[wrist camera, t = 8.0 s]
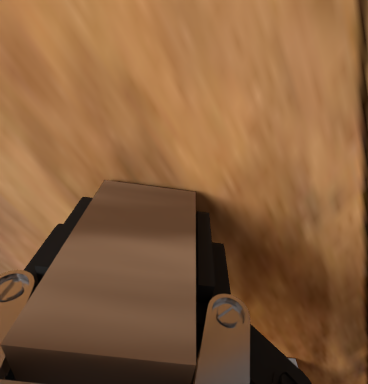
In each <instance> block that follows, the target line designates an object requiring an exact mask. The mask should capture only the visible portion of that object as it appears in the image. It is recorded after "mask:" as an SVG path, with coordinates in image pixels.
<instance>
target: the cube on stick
mask: <svg viewBox="0 0 368 384" xmlns="http://www.w3.org/2000/svg"><path fill="white" fill-rule="evenodd" d="M0 345H1V347H2V350H3V352H4V354H5V356H6V359H7V361H8V363H9V365H10V368H11V370H12V372H13V374H14V377H15V379H16V381H21V382H32V383H42V384H191V381H192V377H193V374H194V371H195V368H196V192H193V191H185V190H178V189H170V188H162V187H155V186H147V185H139V184H131V183H124V182H116V181H108V180H104V182H103V183H102V185H101V186H100V188H99V190H98V191H97V193H96V194H95V196H94V197H93V199H92V201H91V202H90V204H89V205H88V207H87V208H86V210H85V212H84V213H83V215H82V216H81V218H80V220H79V221H78V223H77V224H76V226H75V227H74V229H73V231H72V232H71V234H70V235H69V237H68V238H67V240H66V242H65V243H64V245H63V246H62V248H61V250H60V251H59V253H58V254H57V256H56V257H55V259H54V261H53V262H52V264H51V265H50V267H49V268H48V270H47V272H46V273H45V275H44V276H43V278H42V280H41V281H40V283H39V284H38V286H37V287H36V289H35V291H34V292H33V294H32V295H31V297H30V298H29V300H28V302H27V303H26V305H25V306H24V308H23V310H22V311H21V313H20V314H19V316H18V317H17V319H16V321H15V322H14V324H13V325H12V327H11V328H10V330H9V332H8V333H7V335H6V336H5V338H4V340H3V341H2V343H1V344H0Z"/></svg>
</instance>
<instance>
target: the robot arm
mask: <svg viewBox="0 0 368 384" xmlns="http://www.w3.org/2000/svg"><path fill="white" fill-rule="evenodd" d="M92 199H93V198H89V197H82V198H81V200H80V201H79V203H78V204H77V206H76V207H75V208H74V210H73V211H72V213H71V214H70V216H69V217H68V218H67V220H66V221H65V223H64V224H58V225H57V226H56V227H55V228H54V230H53V231H52V232H51V234H50V235H49V236H48V238H47V239H46V240H45V242H44V243H43V245H42V246H41V247H40V249H39V250H38V251H37V253H36V254H35V255H34V257H33V258H32V260H31V261H30V262H29V264H28V265H27V266H26V268H25V269H24V270H13V271H8V272H5V273H2V274H1V275H0V344H1V343H2V341H3V340H4V338H5V336H6V335H7V333H8V332H9V330H10V328H11V327H12V325H13V324H14V322H15V321H16V319H17V317H18V316H19V314H20V313H21V311H22V310H23V308H24V306H25V305H26V303H27V302H28V300H29V298H30V297H31V295H32V294H33V292H34V291H35V289H36V287H37V286H38V284H39V283H40V281H41V280H42V278H43V276H44V275H45V273H46V272H47V270H48V268H49V267H50V265H51V264H52V262H53V261H54V259H55V257H56V256H57V254H58V253H59V251H60V250H61V248H62V246H63V245H64V243H65V242H66V240H67V238H68V237H69V235H70V234H71V232H72V231H73V229H74V227H75V226H76V224H77V223H78V221H79V220H80V218H81V216H82V215H83V213H84V212H85V210H86V208H87V207H88V205H89V204H90V202H91V201H92ZM0 384H42V383H32V382H21V381H16V379H15V377H14V374H13V372H12V370H11V368H10V365H9V363H8V361H7V359H6V356H5V354H4V352H3V350H2V347H1V345H0ZM191 384H311V382H310V380H309V379H308V377H307V376H306V375H305V374H304V373H303V372H302V371H301V370H300V369H299V368H298V367H297V366H296V365H295V364H293V363H292V362H291V361H290V360H289V359H288V358H287V357H286V356H285V355H284V354H283V353H281V352H280V351H279V350H278V349H277V348H276V347H275V346H274V345H273V344H272V343H270V342H269V341H268V340H267V339H266V338H265V337H264V336H263V335H262V334H261V333H260V332H258V331H257V330H256V329H255V328H254V327H253V326H252V325H251V324H250V315H249V311H248V309H247V307H246V305H245V304H244V303H243V302H242V301H241V300H240V299H238V298H237V297H235V296H232V295H231V293H230V286H229V278H228V271H227V264H226V256H225V249H224V245H223V244H221V243H213V242H212V241H211V229H210V216H209V213H207V212H199V211H197V213H196V368H195V371H194V374H193V377H192V381H191Z"/></svg>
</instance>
